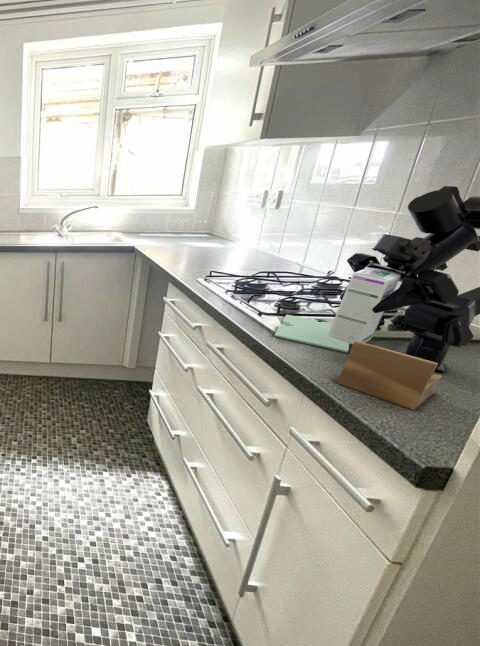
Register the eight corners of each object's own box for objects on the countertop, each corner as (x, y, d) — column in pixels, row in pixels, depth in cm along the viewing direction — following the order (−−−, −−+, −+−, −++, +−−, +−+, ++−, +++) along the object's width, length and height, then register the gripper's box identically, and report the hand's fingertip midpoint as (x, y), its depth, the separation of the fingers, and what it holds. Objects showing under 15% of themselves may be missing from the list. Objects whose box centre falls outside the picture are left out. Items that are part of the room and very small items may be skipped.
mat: (285, 316, 117) (286, 314, 117) (350, 328, 108) (351, 327, 108) (274, 336, 103) (274, 334, 103) (347, 353, 95) (348, 351, 94)
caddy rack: (358, 370, 87) (375, 330, 83) (432, 394, 78) (454, 351, 74) (337, 383, 82) (354, 341, 78) (413, 410, 73) (436, 364, 69)
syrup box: (359, 347, 85) (391, 280, 78) (325, 335, 89) (353, 271, 82) (371, 339, 87) (404, 273, 80) (338, 328, 92) (366, 265, 85)
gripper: (372, 214, 86) (302, 266, 91) (473, 227, 69) (381, 291, 74) (394, 251, 89) (326, 300, 94) (496, 273, 72) (407, 332, 77)
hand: (356, 304), depth 84 cm, fingers closed on syrup box, 7 cm apart
